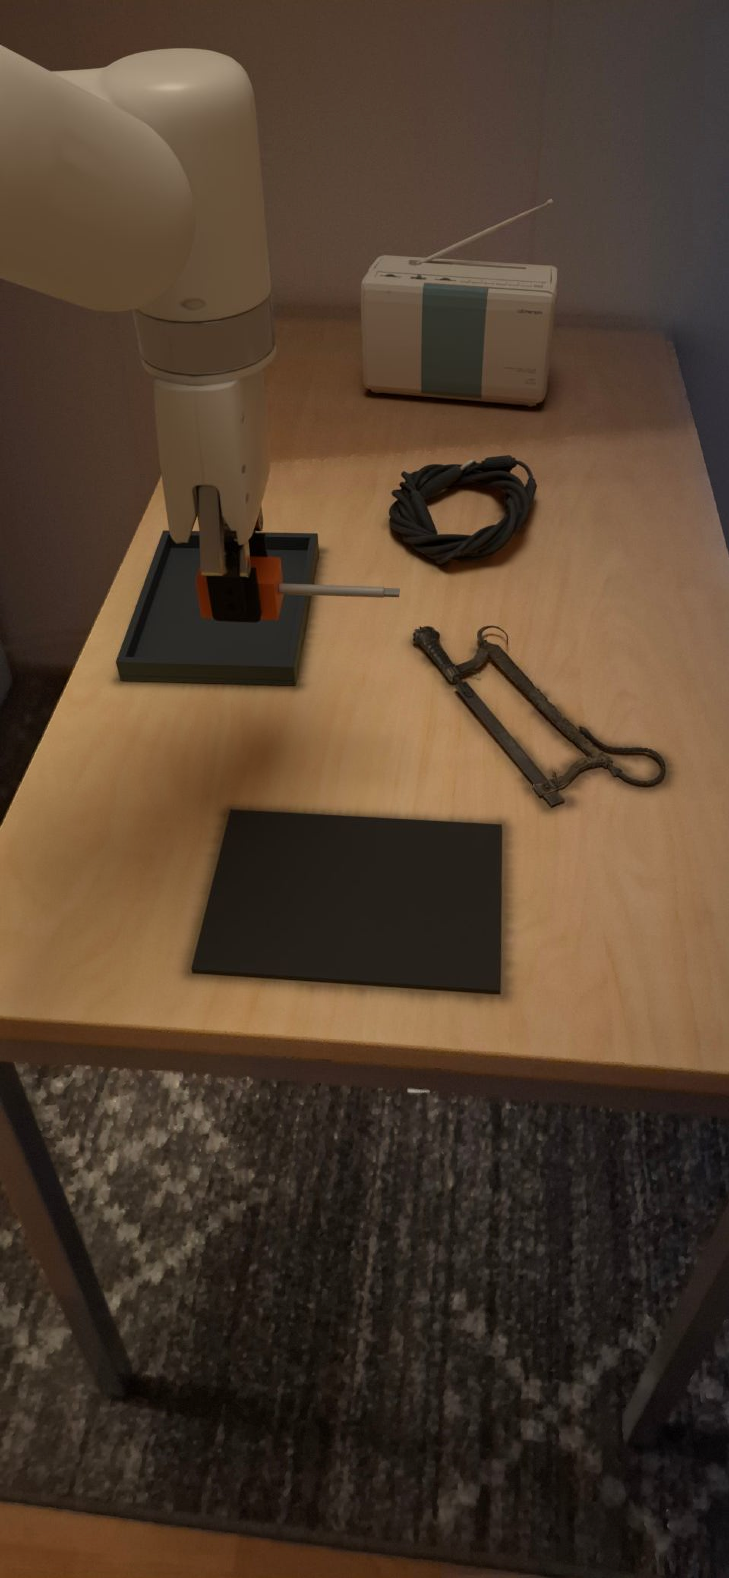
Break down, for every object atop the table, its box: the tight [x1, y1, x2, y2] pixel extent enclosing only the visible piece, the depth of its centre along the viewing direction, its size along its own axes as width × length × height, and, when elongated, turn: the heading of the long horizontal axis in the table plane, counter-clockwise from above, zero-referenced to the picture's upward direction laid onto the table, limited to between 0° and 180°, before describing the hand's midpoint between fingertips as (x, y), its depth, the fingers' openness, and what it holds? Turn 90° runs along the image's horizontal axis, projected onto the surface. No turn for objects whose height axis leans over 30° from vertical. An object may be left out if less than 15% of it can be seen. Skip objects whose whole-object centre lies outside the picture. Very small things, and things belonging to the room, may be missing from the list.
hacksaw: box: [412, 625, 667, 806], centre depth 84 cm, size 24×10×2 cm, turn 26°
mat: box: [190, 808, 503, 994], centre depth 72 cm, size 20×14×1 cm
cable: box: [388, 454, 538, 565], centre depth 101 cm, size 17×14×4 cm
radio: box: [360, 198, 558, 408], centre depth 114 cm, size 21×8×20 cm, turn 77°
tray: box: [115, 529, 320, 687], centre depth 93 cm, size 19×15×2 cm
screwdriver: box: [195, 556, 401, 620], centre depth 69 cm, size 13×3×3 cm, turn 85°
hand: (242, 599), depth 70 cm, fingers closed on screwdriver, 3 cm apart
